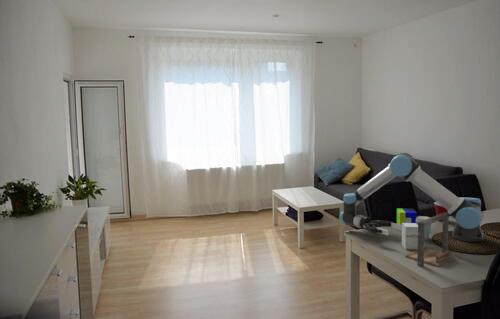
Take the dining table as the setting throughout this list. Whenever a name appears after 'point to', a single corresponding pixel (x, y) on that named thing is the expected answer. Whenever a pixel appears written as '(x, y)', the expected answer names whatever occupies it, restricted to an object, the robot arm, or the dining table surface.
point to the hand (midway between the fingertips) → (395, 230)
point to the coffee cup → (426, 228)
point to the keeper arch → (426, 254)
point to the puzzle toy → (406, 215)
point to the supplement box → (410, 235)
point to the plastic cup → (440, 209)
